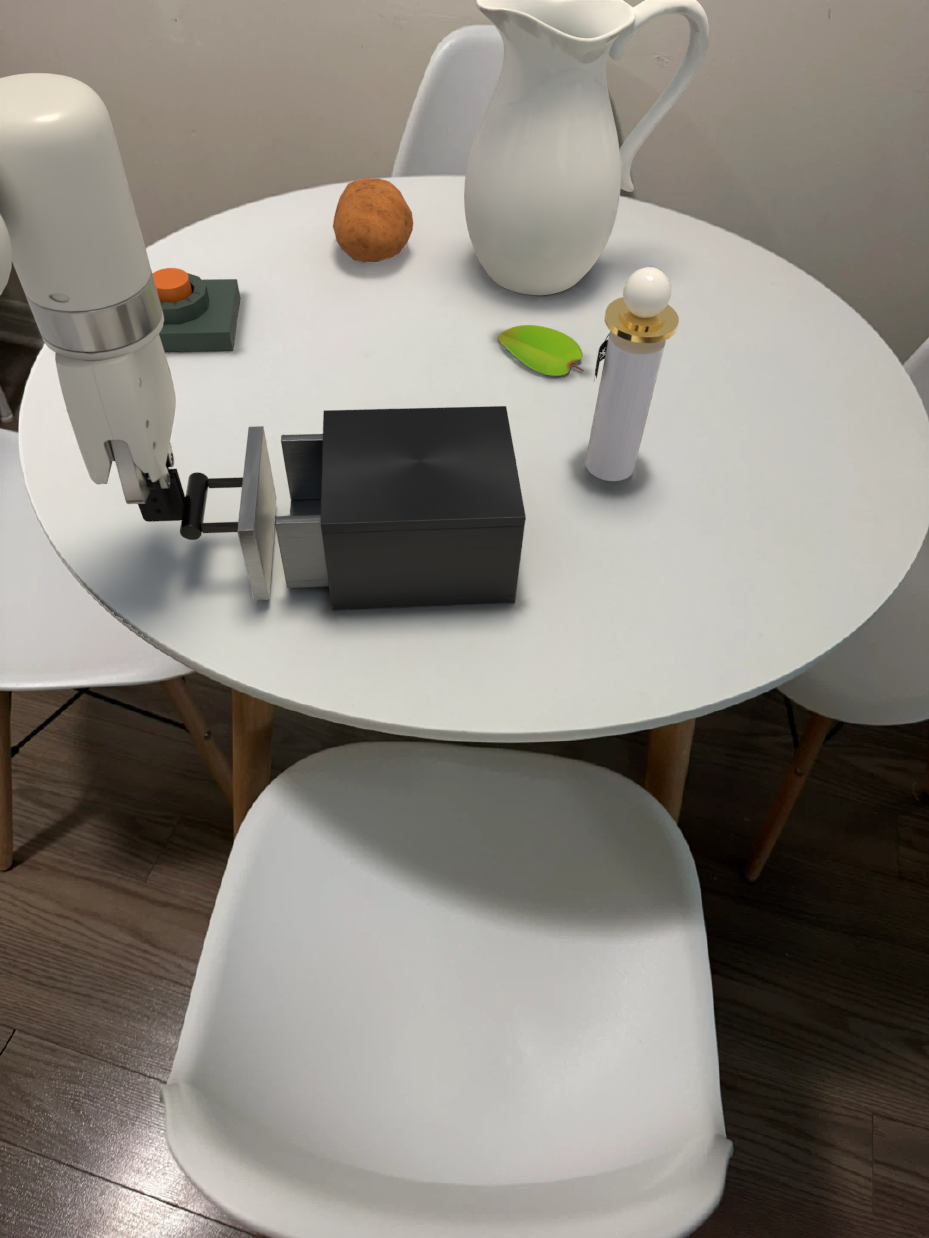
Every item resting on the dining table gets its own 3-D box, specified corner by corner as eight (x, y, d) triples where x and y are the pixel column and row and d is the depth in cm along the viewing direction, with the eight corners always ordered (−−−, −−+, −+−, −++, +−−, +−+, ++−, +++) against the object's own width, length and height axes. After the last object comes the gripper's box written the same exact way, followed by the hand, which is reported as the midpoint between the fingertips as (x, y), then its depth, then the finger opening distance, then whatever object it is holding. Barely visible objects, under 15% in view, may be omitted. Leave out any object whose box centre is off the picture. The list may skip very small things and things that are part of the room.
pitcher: (473, 315, 97) (488, 24, 75) (451, 237, 107) (458, -39, 85) (681, 303, 100) (753, 21, 78) (640, 228, 110) (693, -40, 88)
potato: (419, 233, 107) (419, 170, 102) (405, 282, 100) (404, 218, 95) (345, 226, 108) (340, 163, 102) (326, 274, 101) (320, 210, 95)
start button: (149, 304, 90) (145, 289, 88) (155, 283, 92) (151, 267, 91) (189, 304, 90) (186, 288, 89) (194, 283, 92) (190, 267, 91)
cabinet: (332, 610, 70) (320, 524, 63) (333, 499, 78) (323, 410, 70) (515, 602, 71) (525, 517, 64) (498, 493, 79) (506, 405, 72)
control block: (114, 353, 90) (103, 318, 87) (129, 298, 96) (119, 264, 93) (233, 350, 91) (226, 316, 88) (240, 297, 97) (234, 263, 94)
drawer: (189, 602, 69) (166, 533, 63) (204, 500, 76) (184, 428, 70) (425, 593, 70) (425, 524, 64) (418, 493, 78) (417, 422, 71)
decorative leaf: (523, 387, 90) (524, 380, 89) (493, 335, 94) (493, 327, 94) (592, 370, 91) (593, 362, 90) (559, 319, 96) (559, 312, 95)
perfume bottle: (650, 466, 82) (703, 266, 67) (621, 500, 79) (669, 300, 64) (596, 442, 84) (635, 242, 68) (566, 474, 81) (600, 274, 65)
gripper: (59, 244, 59) (131, 452, 74) (6, 380, 50) (101, 588, 64) (172, 242, 60) (222, 449, 74) (141, 377, 51) (205, 583, 65)
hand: (166, 513), depth 69 cm, fingers closed
